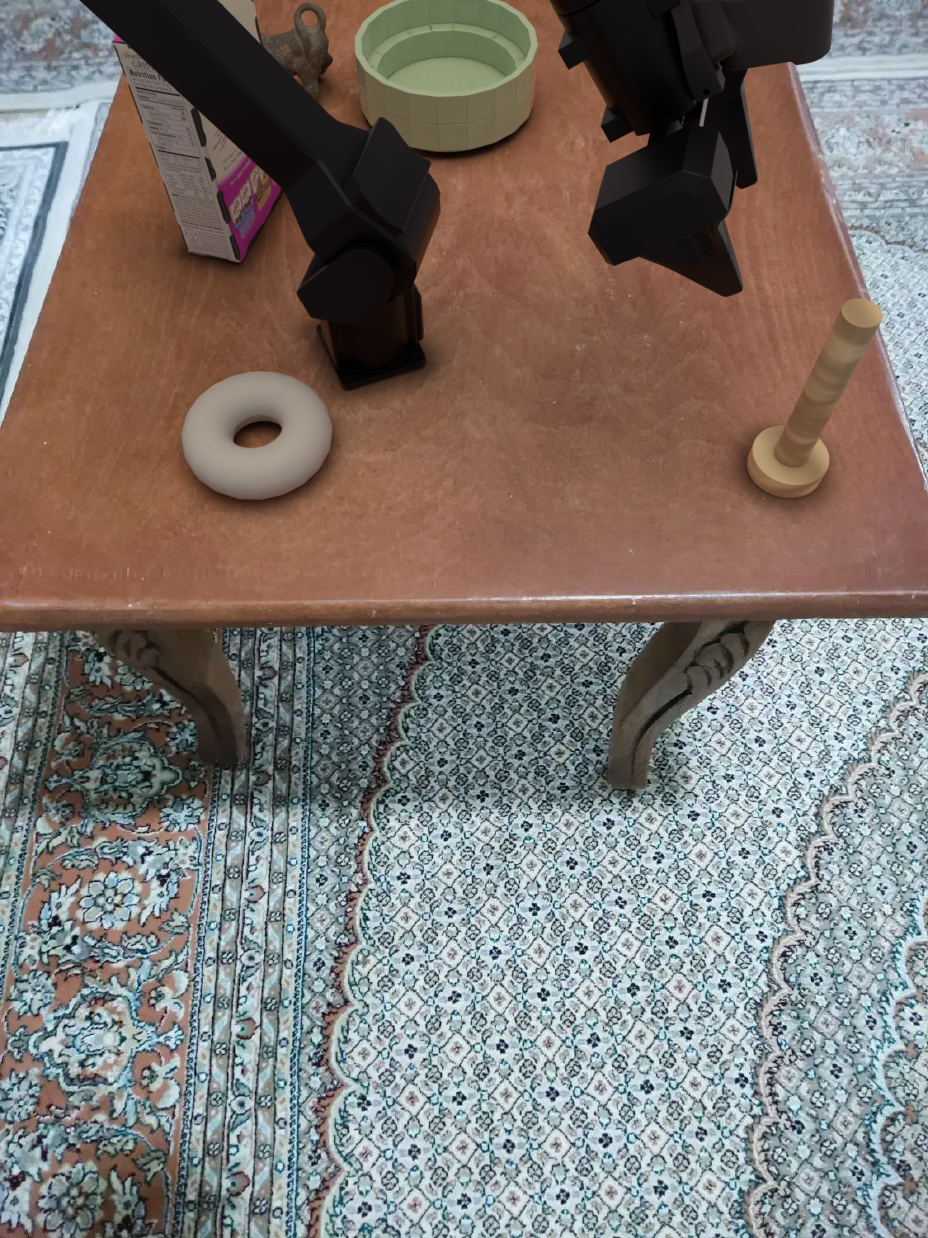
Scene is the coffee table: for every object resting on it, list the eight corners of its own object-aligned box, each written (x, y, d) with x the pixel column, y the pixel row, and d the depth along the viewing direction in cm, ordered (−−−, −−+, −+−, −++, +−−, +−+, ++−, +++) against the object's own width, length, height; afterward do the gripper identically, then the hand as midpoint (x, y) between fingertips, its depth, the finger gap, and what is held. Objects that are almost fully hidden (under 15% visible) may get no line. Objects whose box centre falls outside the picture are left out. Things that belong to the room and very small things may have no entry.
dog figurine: (339, 74, 81) (328, -16, 74) (333, 113, 78) (320, 23, 71) (209, 72, 81) (186, -18, 74) (198, 110, 78) (173, 21, 72)
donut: (169, 498, 59) (313, 521, 58) (151, 465, 56) (303, 488, 55) (218, 386, 63) (352, 405, 62) (204, 350, 60) (345, 369, 59)
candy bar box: (238, 167, 75) (181, -55, 60) (293, 177, 74) (249, -45, 59) (182, 255, 70) (106, 35, 55) (241, 266, 69) (179, 47, 54)
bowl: (396, 178, 74) (391, 113, 69) (339, 78, 80) (330, 13, 76) (561, 133, 76) (567, 69, 72) (492, 40, 83) (493, -24, 78)
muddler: (771, 508, 58) (849, 357, 46) (732, 452, 60) (797, 294, 48) (836, 484, 59) (929, 330, 47) (795, 430, 61) (874, 269, 49)
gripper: (769, -26, 31) (893, 303, 41) (802, -248, 39) (898, 69, 49) (509, 124, 37) (670, 373, 47) (586, -92, 46) (708, 157, 56)
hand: (742, 236), depth 50 cm, fingers open, 9 cm apart
